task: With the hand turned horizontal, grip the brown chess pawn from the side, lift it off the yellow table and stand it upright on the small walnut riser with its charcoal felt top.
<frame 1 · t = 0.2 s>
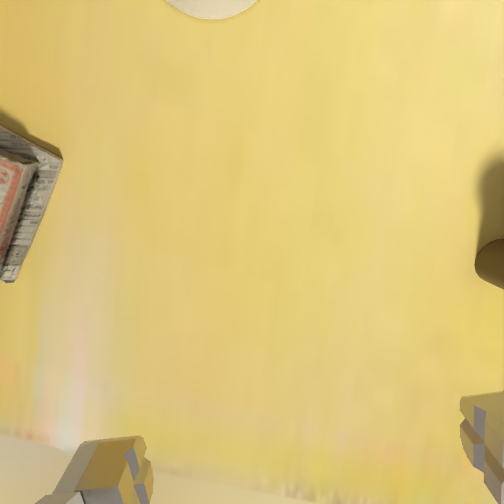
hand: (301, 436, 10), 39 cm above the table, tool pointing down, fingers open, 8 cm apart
packaged product: (2, 203, 48), on the table
brown chess pawn: (497, 260, 52), on the table
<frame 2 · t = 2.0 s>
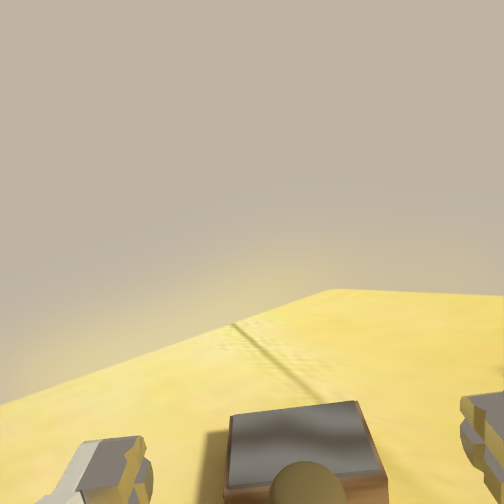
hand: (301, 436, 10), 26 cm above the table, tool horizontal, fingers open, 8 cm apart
walnut riser: (302, 475, 40), on the table
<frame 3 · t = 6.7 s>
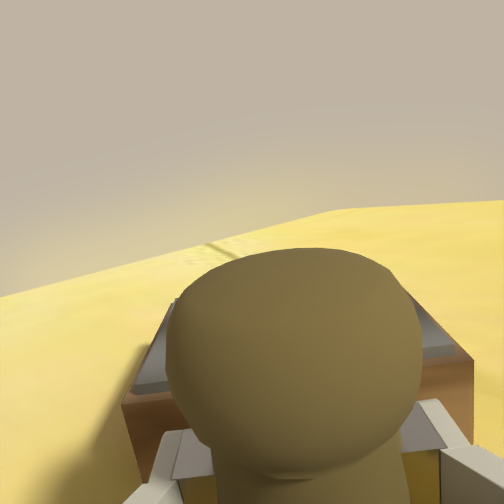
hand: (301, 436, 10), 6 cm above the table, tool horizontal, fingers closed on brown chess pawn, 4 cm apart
walnut riser: (293, 390, 22), on the table
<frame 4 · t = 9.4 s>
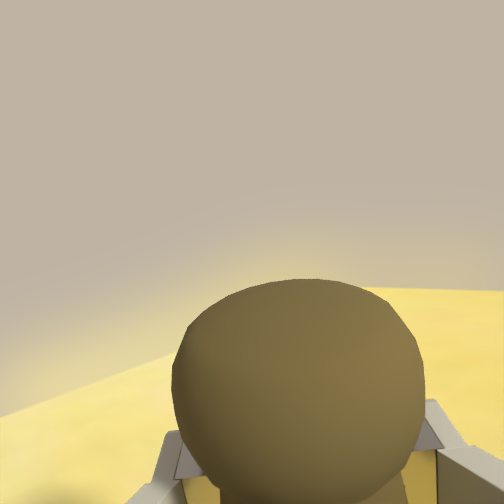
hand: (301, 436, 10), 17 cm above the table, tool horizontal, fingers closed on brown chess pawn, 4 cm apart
when the fingers open (12 cm above the table, at t = 11.2 s): brown chess pawn moves 2 cm, resting on walnut riser.
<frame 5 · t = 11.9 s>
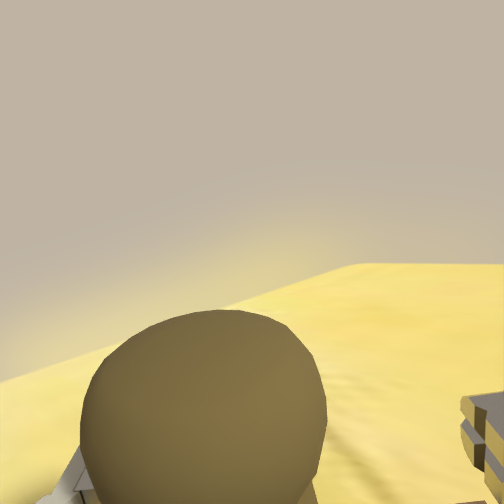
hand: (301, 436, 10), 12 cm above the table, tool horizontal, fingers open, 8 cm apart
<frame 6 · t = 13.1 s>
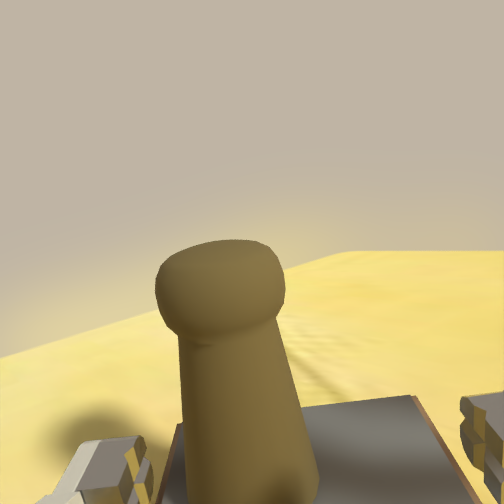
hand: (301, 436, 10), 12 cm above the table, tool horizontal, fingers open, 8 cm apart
brown chess pawn: (253, 482, 18), point 5 cm above the table, touching walnut riser
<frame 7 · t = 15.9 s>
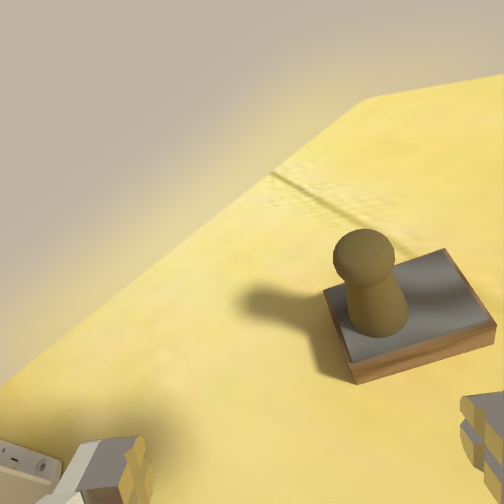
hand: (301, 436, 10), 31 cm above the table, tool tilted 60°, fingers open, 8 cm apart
walnut riser: (403, 324, 44), on the table
brown chess pawn: (378, 312, 41), point 4 cm above the table, touching walnut riser
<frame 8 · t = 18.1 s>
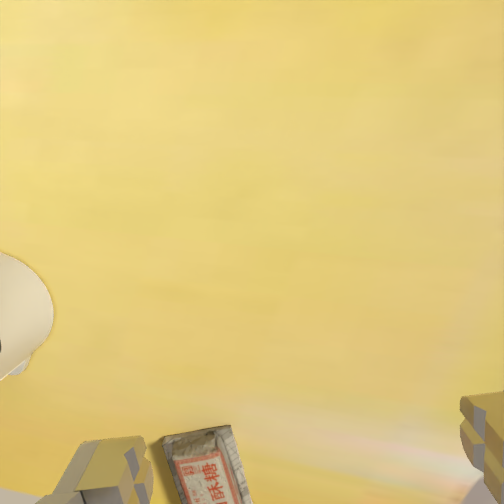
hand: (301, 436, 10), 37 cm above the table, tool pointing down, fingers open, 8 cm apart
packaged product: (212, 476, 58), on the table
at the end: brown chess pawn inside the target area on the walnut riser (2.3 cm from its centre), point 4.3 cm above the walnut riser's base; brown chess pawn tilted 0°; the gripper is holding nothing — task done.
